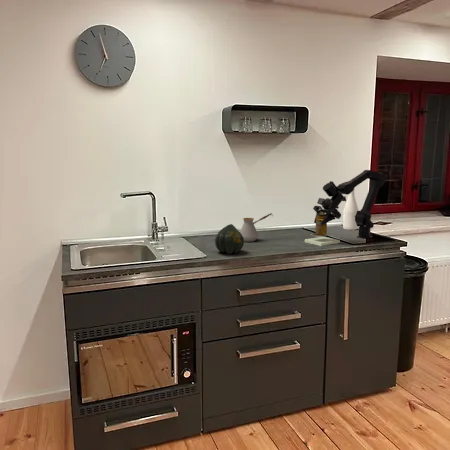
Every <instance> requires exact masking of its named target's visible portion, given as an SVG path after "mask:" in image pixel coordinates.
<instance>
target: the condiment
mask: <svg viewBox="0 0 450 450" xmlns="http://www.w3.org/2000/svg"><path fill="white" fill-rule="evenodd" d="M325 216H326V213H318V214H317V218H316V223H315V233H311V234H309V235H311V236H312V237H313V236H314V237H316V238H317V237H327V236H329V234H328V233H327V232H328V222H327V223H325V224H323V225H321V222H322V221H323V219H324V218H325Z"/></svg>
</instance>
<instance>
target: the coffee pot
mask: <svg viewBox="0 0 450 450" xmlns="http://www.w3.org/2000/svg"><path fill="white" fill-rule="evenodd" d="M270 216H271V217H273V216H274V214H273V213H271V212H270V213H268V214H267V215H264V216H262V217H261V218H259V219H258V220H255V221H254V218H253V217H243V218H242V220H243V224H242V227H241V229H240V230H239V232H240V233H241V234H242V236H243V238H244V243H246V242H249V243H250V242H251V243H252V242H255V241H257V240H258V238H259V233H258V232H257V231H258V230H257V228H256V226H255V224H256V223H259V222H260V221H263V220H265V219H266V218H268V217H270Z"/></svg>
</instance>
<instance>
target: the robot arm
mask: <svg viewBox="0 0 450 450" xmlns="http://www.w3.org/2000/svg"><path fill="white" fill-rule="evenodd" d="M366 180H369V185H370V187H369V189H368V191H367V194H366V197H365V199H364V203H363V205H362V208H361V209H360V210H359V211H357V213H356V215H355V222H356V225H357V226H358V235H356V238H360V239H370V238H371V239H372V238H373V236H372V235H371V230H372V229H373V228H374V225H375V224H374V223H373V221H372V220H371V219H372V213H371V211H372V208H373V205H374V203H375V201H376V198H377V195H378V192H379V190H380V189H381V187H382V186H384V184H385V183H386V180H387V176H386V174H385V173H384V172H376V171H374V170H371V169H364V170H362V172H360V173H359V174H358V175H356V176H354V177H353V178H352V179H350V180H348V181H344V182H342V183H340V184H338V185H336V184H335V183H334V181H331V180H330V181H329V182H326V184H324V185H323V187H322V190H323V192H325V194H326V195H327V196H328V197H331V198H328V197H327V198H323V197H319V198H318V200H317V202H316V203H317V204H318V205H314V206H313V208H312V209H313V211H315V213H316V214H315V218H314V221H313V223H314V224H316V218H317V214H318V213H325V214H326V216H325V218H324V219H323V221H322V222H321V225H323V224H325V223H327V224H328V223H329V222H331V221H333V220H336V219H338V220H340V219H341V218H342V213H341V212H340V211H339V210H338V209H339V208H340V207H339V205H340V204H341V203H342V202H347V198H346V197H347V196H349V194H350V193H351V192H352V191H353V190H354V191H355V188H356V187H358V186H359V185H360V184H362V183H363V182H365V181H366ZM344 195H345V196H344ZM320 205H321V206H320Z"/></svg>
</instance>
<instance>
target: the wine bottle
mask: <svg viewBox="0 0 450 450" xmlns="http://www.w3.org/2000/svg"><path fill="white" fill-rule="evenodd" d="M345 202H346V203H345V205H344V207H343V213H342V215H343V220H342V228H343V229H344V230H349V231H355V230H359V226H357V225H356V222H355V215H356V213H357V211H360V210H359V207H358V204H357V201H356V197H355V189H354V190H353V191H352V192H351V193H350V194H348V197H347V199H346V201H345Z"/></svg>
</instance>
